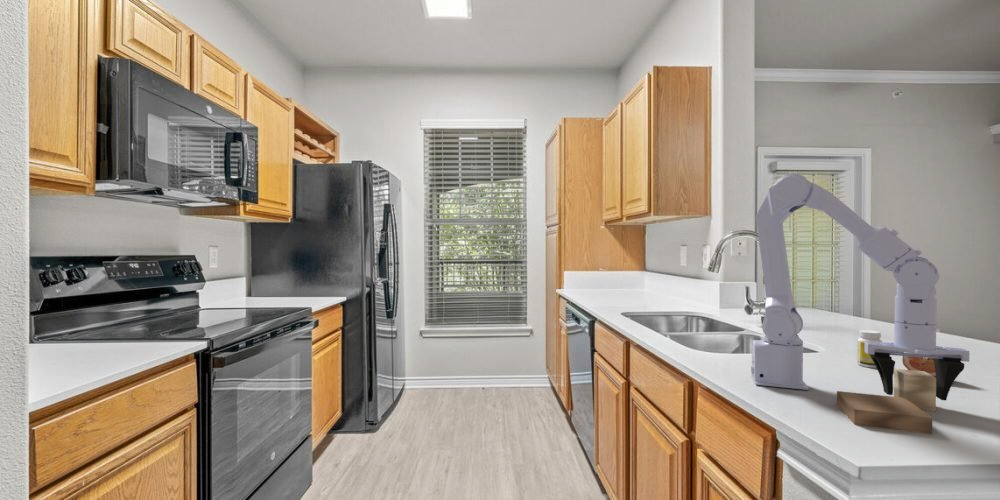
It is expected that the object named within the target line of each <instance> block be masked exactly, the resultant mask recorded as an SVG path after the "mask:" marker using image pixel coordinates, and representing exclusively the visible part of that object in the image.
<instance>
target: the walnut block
mask: <svg viewBox="0 0 1000 500" xmlns="http://www.w3.org/2000/svg"><path fill="white" fill-rule="evenodd" d="M836 405H837V407H838V406H839V407H840V408H839V407H838V408H839V409H840V410H841V412H843V414H844V415H845V414H846V415H847V416H848V417H847V416H846V417H847V418H848V420H849V421H851V422H852V424H853V425H854V426H855V425H856V426H862V427H863V426H864V427H872V428H880V429H889V430H893V431H903V432H910V433H911V432H912V433H920V434H928V435H933V417H932V416H930V414H928V413H926V412H925V410H921V409H920V408H918V407H917V406H915V405H914V404H913V403H911V402H910V401H909V400H907V399H906V398H901V397H894V396H892V395H880V394H871V393H869V394H868V393H860V392H852V391H851V392H849V391H839V390H837V391H836Z"/></svg>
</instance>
